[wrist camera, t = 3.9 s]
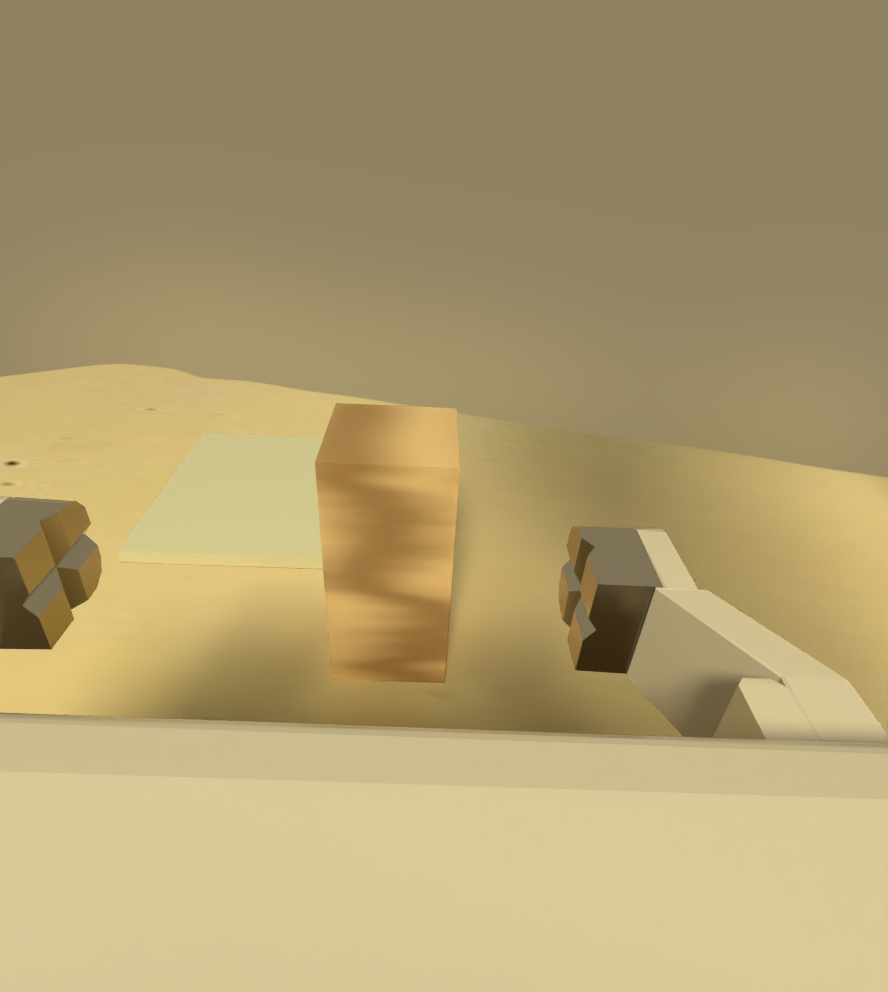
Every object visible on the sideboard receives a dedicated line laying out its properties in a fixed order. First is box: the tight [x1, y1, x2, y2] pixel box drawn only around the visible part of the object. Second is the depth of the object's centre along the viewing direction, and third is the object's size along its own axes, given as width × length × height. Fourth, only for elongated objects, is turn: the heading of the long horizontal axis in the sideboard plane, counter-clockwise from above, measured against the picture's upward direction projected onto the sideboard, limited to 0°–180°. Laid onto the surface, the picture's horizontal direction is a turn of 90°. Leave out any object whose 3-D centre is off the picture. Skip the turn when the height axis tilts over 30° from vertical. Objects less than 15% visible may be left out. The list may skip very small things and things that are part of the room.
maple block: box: [315, 403, 460, 683], centre depth 26 cm, size 5×5×11 cm
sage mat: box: [117, 433, 323, 569], centre depth 38 cm, size 14×14×1 cm
